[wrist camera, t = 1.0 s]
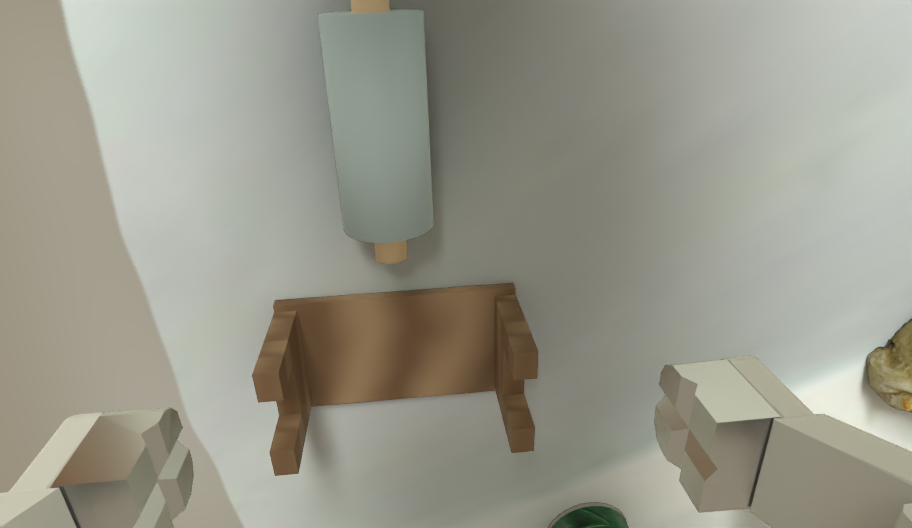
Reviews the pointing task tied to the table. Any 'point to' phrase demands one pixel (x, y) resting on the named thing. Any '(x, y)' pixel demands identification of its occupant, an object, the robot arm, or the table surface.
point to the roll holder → (394, 356)
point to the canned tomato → (590, 517)
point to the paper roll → (379, 123)
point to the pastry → (893, 369)
